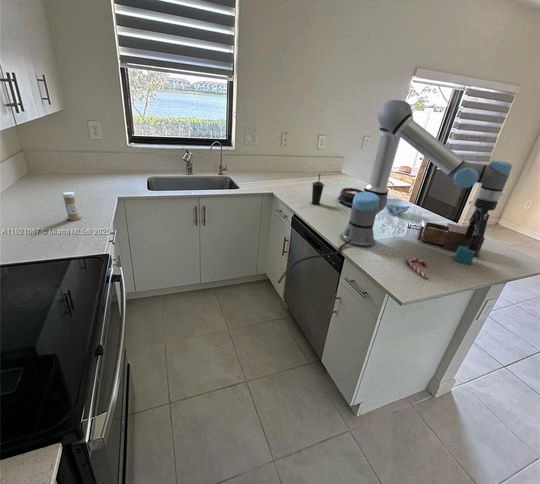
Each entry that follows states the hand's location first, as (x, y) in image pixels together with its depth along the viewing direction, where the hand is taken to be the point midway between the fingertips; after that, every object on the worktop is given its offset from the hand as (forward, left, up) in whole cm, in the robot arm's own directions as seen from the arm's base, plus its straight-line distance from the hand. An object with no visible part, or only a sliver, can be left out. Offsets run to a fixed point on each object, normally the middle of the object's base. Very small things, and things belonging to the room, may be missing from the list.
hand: (469, 244), depth 130 cm
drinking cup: (+34, +82, -9) cm, 89 cm away
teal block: (0, 0, -9) cm, 9 cm away
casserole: (+52, +62, -9) cm, 82 cm away
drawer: (+15, +16, -8) cm, 23 cm away
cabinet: (+15, 0, -9) cm, 17 cm away
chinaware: (+48, +33, -9) cm, 59 cm away
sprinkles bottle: (-66, +176, -9) cm, 188 cm away
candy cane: (-20, +18, -9) cm, 28 cm away
